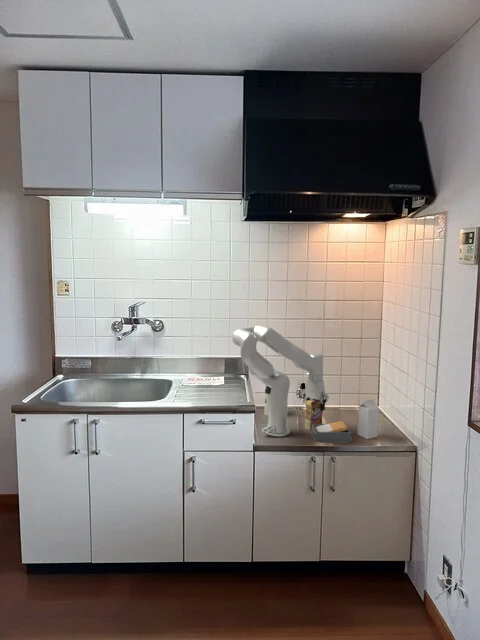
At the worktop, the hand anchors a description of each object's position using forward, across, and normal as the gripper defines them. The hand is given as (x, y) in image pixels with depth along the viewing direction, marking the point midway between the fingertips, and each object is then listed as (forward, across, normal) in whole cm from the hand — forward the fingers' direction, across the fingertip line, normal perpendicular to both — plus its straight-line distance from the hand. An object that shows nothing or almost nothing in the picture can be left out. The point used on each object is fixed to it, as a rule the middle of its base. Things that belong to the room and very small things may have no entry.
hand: (315, 408), depth 256 cm
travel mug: (+10, -30, -3) cm, 31 cm away
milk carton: (+11, +25, +11) cm, 30 cm away
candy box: (+11, 0, -1) cm, 11 cm away
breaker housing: (+10, +14, -5) cm, 18 cm away
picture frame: (+6, +14, -5) cm, 16 cm away
